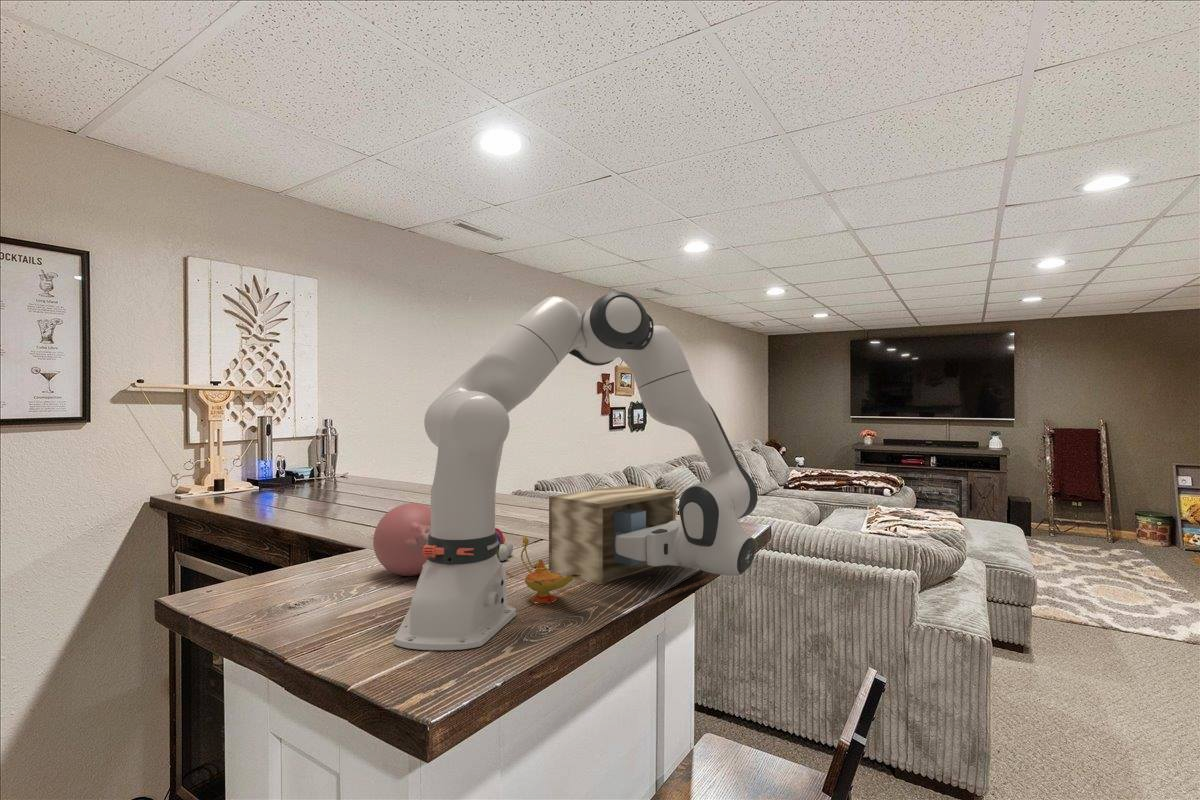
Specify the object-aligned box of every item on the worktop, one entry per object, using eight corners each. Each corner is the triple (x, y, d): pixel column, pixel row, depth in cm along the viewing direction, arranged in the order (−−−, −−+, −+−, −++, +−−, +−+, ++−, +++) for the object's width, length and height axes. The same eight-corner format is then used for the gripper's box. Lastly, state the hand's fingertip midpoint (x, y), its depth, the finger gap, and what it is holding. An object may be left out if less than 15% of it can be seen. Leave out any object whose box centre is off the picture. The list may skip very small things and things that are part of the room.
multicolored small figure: (514, 554, 146) (515, 525, 146) (505, 564, 136) (505, 533, 136) (481, 553, 147) (481, 524, 147) (469, 563, 137) (469, 532, 137)
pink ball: (386, 595, 113) (387, 515, 113) (366, 571, 130) (367, 501, 130) (464, 583, 121) (464, 508, 121) (435, 561, 138) (436, 496, 138)
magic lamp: (564, 619, 101) (564, 554, 101) (506, 594, 114) (506, 537, 114) (594, 609, 106) (594, 548, 106) (535, 587, 119) (535, 532, 119)
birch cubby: (675, 564, 136) (675, 491, 137) (599, 589, 117) (599, 504, 118) (626, 553, 147) (626, 485, 147) (548, 574, 128) (549, 496, 128)
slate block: (646, 561, 129) (645, 511, 129) (631, 565, 126) (631, 514, 126) (628, 557, 133) (628, 508, 133) (614, 561, 129) (613, 511, 129)
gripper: (706, 520, 128) (655, 512, 137) (648, 535, 113) (595, 525, 122) (706, 549, 128) (655, 539, 137) (648, 568, 113) (595, 556, 122)
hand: (626, 533), depth 130 cm, fingers closed on slate block, 5 cm apart
